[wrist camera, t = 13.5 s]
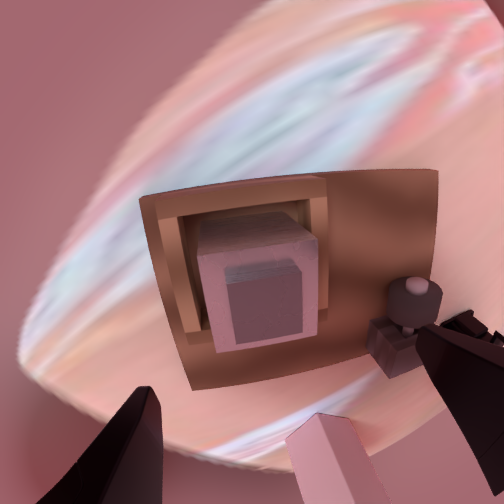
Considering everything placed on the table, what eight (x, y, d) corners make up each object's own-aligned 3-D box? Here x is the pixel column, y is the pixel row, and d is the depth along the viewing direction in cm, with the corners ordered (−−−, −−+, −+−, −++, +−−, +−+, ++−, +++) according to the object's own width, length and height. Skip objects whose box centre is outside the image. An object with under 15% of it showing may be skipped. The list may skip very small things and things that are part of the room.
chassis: (410, 329, 24) (442, 361, 19) (192, 381, 22) (192, 432, 17) (428, 169, 19) (479, 179, 13) (143, 196, 17) (115, 214, 11)
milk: (348, 417, 28) (419, 554, 8) (317, 443, 29) (371, 573, 9) (315, 411, 26) (387, 576, 6) (282, 439, 28) (333, 590, 7)
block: (286, 283, 19) (322, 344, 12) (212, 294, 18) (217, 364, 12) (282, 210, 17) (325, 244, 11) (200, 221, 16) (195, 263, 10)
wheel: (410, 322, 22) (437, 349, 18) (371, 336, 22) (397, 367, 17) (420, 265, 20) (455, 288, 16) (379, 276, 19) (413, 303, 15)
